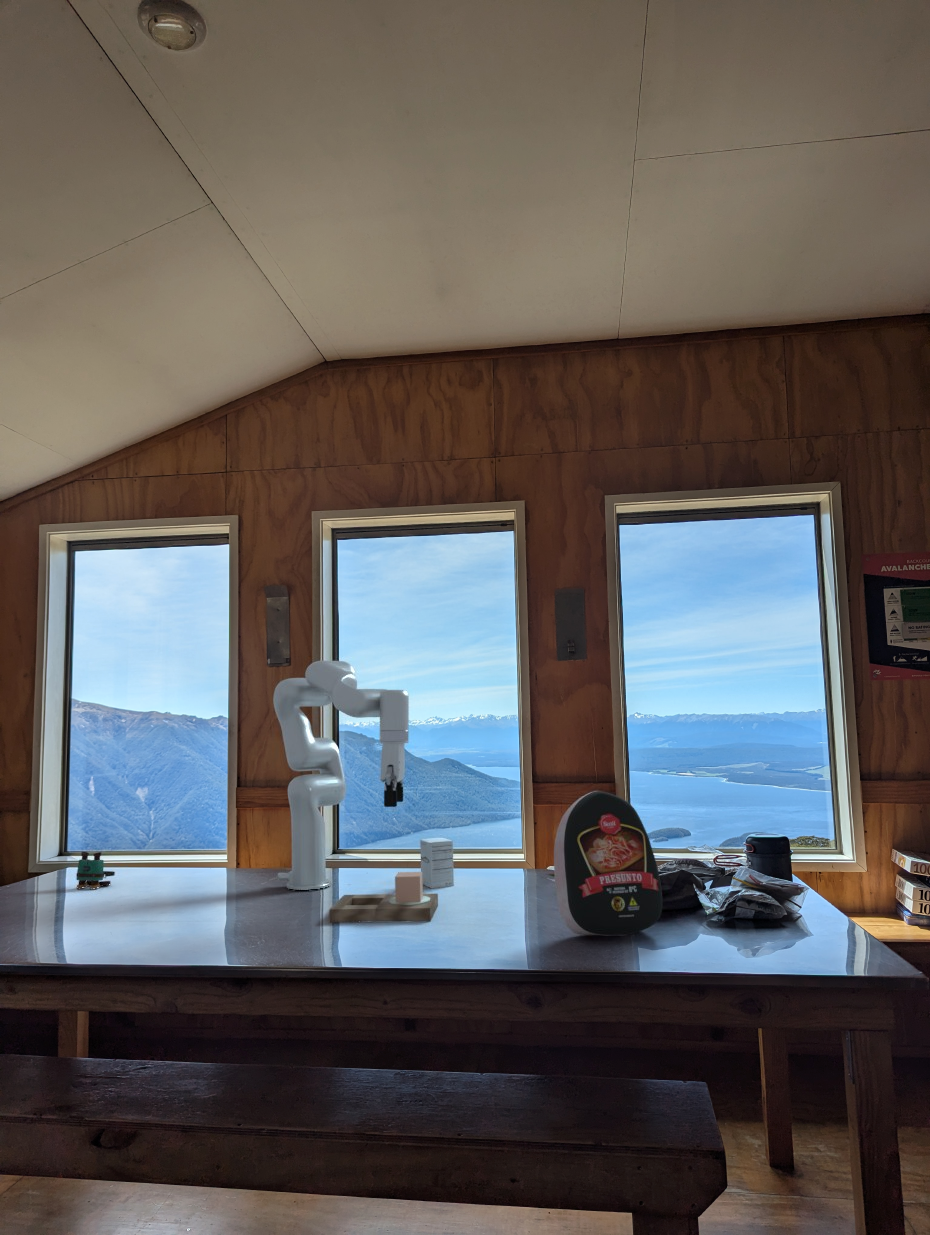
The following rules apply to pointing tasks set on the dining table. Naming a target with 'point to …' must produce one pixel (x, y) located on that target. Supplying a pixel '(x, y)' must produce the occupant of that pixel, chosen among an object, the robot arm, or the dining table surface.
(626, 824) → the packaged food
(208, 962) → the dining table surface
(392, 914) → the hole platform
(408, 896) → the block
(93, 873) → the green boxy piece
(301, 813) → the robot arm
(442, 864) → the supplement box
